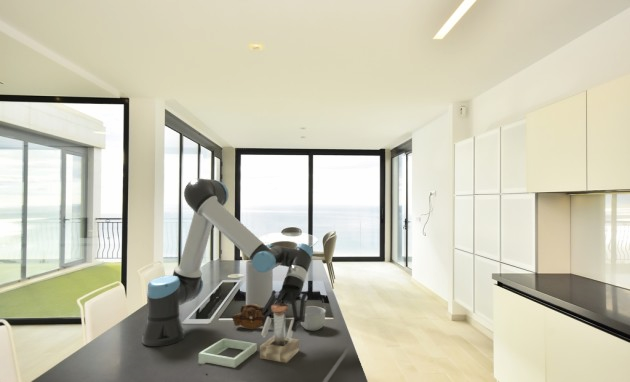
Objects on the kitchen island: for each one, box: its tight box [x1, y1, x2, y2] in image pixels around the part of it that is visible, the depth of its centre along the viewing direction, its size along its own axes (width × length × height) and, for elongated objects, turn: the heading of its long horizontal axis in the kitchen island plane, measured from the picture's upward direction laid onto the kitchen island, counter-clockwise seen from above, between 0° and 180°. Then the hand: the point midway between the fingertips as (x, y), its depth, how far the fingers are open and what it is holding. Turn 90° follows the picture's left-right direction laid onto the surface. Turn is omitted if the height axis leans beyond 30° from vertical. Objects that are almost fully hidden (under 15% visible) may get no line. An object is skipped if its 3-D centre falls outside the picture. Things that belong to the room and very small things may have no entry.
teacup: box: [299, 305, 327, 332], centre depth 154 cm, size 14×11×8 cm
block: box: [259, 335, 300, 364], centre depth 127 cm, size 10×10×5 cm
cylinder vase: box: [245, 259, 274, 307], centre depth 174 cm, size 12×12×25 cm
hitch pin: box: [271, 303, 289, 346], centre depth 127 cm, size 6×6×17 cm
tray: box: [198, 337, 258, 369], centre depth 126 cm, size 14×14×4 cm
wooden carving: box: [231, 304, 265, 330], centre depth 155 cm, size 16×5×10 cm, turn 82°
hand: (275, 337), depth 124 cm, fingers open, 9 cm apart
